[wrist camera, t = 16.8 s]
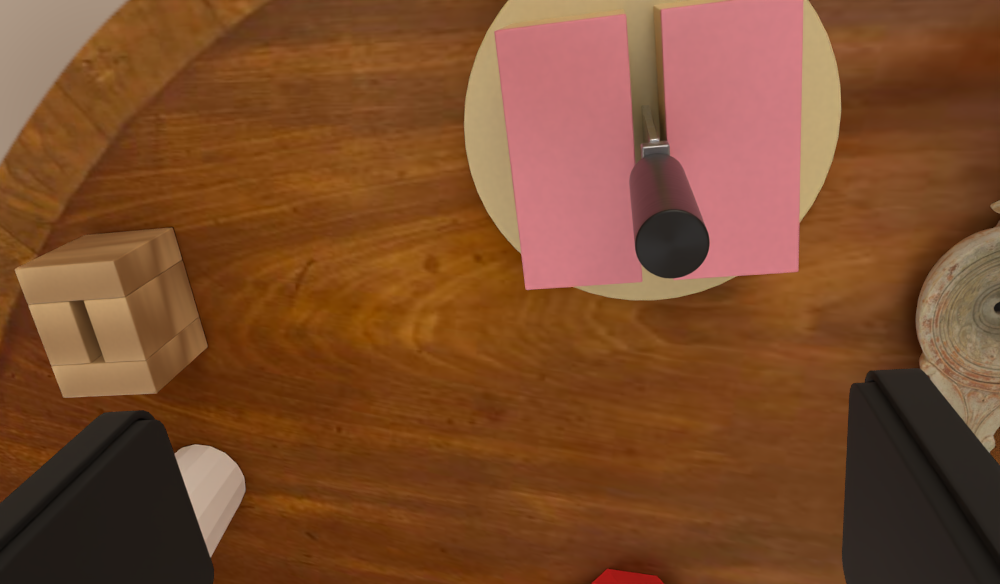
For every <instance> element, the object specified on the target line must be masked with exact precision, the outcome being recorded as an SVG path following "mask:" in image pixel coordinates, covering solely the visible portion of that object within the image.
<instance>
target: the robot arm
mask: <svg viewBox="0 0 1000 584" xmlns="http://www.w3.org/2000/svg"><path fill="white" fill-rule="evenodd" d="M842 562H843V570H844V575H845V579H846V583H847V584H1000V465H999V464H998V463H997V462H996V460H995V459H994V458H993V457H992V455H991V454H990V453H989V452H988V450H987V449H986V448H985V447H984V446H983V444H982V443H981V442H980V441H979V439H978V438H977V437H976V436H975V434H974V433H973V432H972V431H971V429H970V428H969V427H968V426H967V424H966V423H965V422H964V421H963V419H962V418H961V417H960V416H959V414H958V413H957V412H956V411H955V409H954V408H953V407H952V406H951V404H950V403H949V402H948V401H947V400H946V398H945V397H944V396H943V395H942V393H941V392H940V391H939V390H938V388H937V387H936V386H935V385H934V383H933V382H932V381H931V380H930V378H929V377H928V376H927V375H926V373H925V372H924V371H922V370H921V369H919V368H912V369H894V370H876V371H869V372H868V373H867V375H866V378H865V383H853V384H852V385H851V388H850V395H849V415H848V437H847V458H846V480H845V502H844V523H843V545H842ZM213 579H214V568H213V564H212V561H211V558H210V555H209V552H208V549H207V546H206V543H205V541H204V538H203V535H202V532H201V529H200V526H199V523H198V521H197V518H196V515H195V512H194V509H193V506H192V503H191V500H190V498H189V495H188V492H187V489H186V486H185V483H184V480H183V477H182V475H181V472H180V469H179V466H178V463H177V460H176V457H175V454H174V452H173V449H172V446H171V443H170V440H169V437H168V434H167V432H166V429H165V427H164V425H163V424H162V423H161V422H160V421H158V420H155V419H154V417H153V416H152V415H151V414H150V413H149V412H146V411H144V410H141V411H123V412H108V413H103V414H102V415H100V416H98V417H97V418H96V419H95V420H94V421H93V422H91V423H90V424H89V425H88V426H87V427H86V428H85V429H84V430H82V431H81V432H80V433H79V434H78V435H77V436H76V437H75V438H73V439H72V440H71V441H70V442H69V443H68V444H67V445H66V446H64V447H63V448H62V449H61V450H60V451H59V452H58V453H56V454H55V455H54V456H53V457H52V458H51V459H50V460H49V461H47V462H46V463H45V464H44V465H43V466H42V467H41V468H40V469H38V470H37V471H36V472H35V473H34V474H33V475H32V476H31V477H29V478H28V479H27V480H26V481H25V482H24V483H23V484H22V485H20V486H19V487H18V488H17V489H16V490H15V491H14V492H13V493H11V494H10V495H9V496H8V497H7V498H6V499H5V500H3V501H2V502H1V503H0V584H213Z"/></svg>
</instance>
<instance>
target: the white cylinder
mask: <svg viewBox="0 0 1000 584" xmlns="http://www.w3.org/2000/svg"><path fill="white" fill-rule="evenodd" d="M175 457H176V460H177V463H178V466H179V469H180V472H181V475H182V477H183V480H184V483H185V486H186V489H187V492H188V495H189V498H190V500H191V503H192V506H193V509H194V512H195V515H196V518H197V521H198V523H199V526H200V529H201V532H202V535H203V538H204V541H205V543H206V546H207V549H208V552H209V555H210V558H211V556H212V554H213V552H214V550H215V548H216V547H217V545H218V543H219V541H220V539H221V537H222V536H223V534H224V532H225V530H226V528H227V526H228V525H229V523H230V521H231V519H232V517H233V516H234V514H235V512H236V510H237V508H238V506H239V505H240V503H241V501H242V498H243V496H244V493H245V491H246V488H245V479H244V475H243V474H242V472H241V470H240V468H239V466H238V465H237V463H236V462H234V461H233V460H232V459H231V458H230V457H229V456H228V455H227V454H226V453H224V452H222V451H220V450H218V449H215V448H213V447H211V446H205V445H197V444H194V445H190V446H187V447H183V448H181V449H180V450H178V451H177V452H176V453H175Z"/></svg>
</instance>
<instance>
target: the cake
mask: <svg viewBox="0 0 1000 584" xmlns="http://www.w3.org/2000/svg"><path fill="white" fill-rule="evenodd" d="M642 105H649V107H650V110H651V113H652V117H653V120H654V123H655V127H656V130H657V133H658V136H659V141H668V142H669V145H670V156H672V157H674V158H675V159H676V160H677V161H679V162H680V164H681V165H682V167H683V169H684V171H685V174H686V176H687V179H688V181H689V184H690V187H691V189H692V192H693V194H694V197H695V200H696V202H697V205H698V207H699V210H700V213H701V215H702V218H703V220H704V223H705V226H706V228H707V231H708V234H709V239H710V246H709V251H708V254H707V257H706V259H705V260H704V262H703V263H702V264H701V266H700V267H699V268H697V269H696V270H695V271H694V272H692V273H690V274H688V275H686V276H684V277H680V278H671V279H669V278H662V277H658V276H656V275H654V274H652V273H650V272H649V271H647V270H646V269H645V268H644V267H643V266H642V265H641V263H640V262H639V260H638V258H637V255H636V252H635V243H634V231H633V220H632V209H631V198H630V186H629V178H630V174H631V171H632V169H633V167H634V166H635V165H636V163H637V162H638V161H640V160H641V144H642V143H643V130H642V112H641V106H642ZM840 117H841V91H840V81H839V75H838V69H837V63H836V59H835V56H834V53H833V49H832V46H831V43H830V40H829V37H828V35H827V33H826V31H825V29H824V27H823V25H822V23H821V21H820V19H819V17H818V14H817V12H816V11H815V10H814V8H813V7H812V5H811V4H810V2H809V1H808V0H508V2H507V3H506V4H505V5H504V6H503V8H502V9H501V10H500V12H499V13H498V15H497V17H496V18H495V20H494V21H493V23H492V25H491V26H490V28H489V29H488V31H487V33H486V35H485V37H484V39H483V42H482V44H481V46H480V48H479V50H478V52H477V55H476V58H475V61H474V64H473V68H472V71H471V74H470V77H469V82H468V88H467V93H466V99H465V112H464V134H465V147H466V153H467V157H468V162H469V167H470V172H471V175H472V177H473V180H474V183H475V186H476V189H477V192H478V194H479V196H480V198H481V200H482V202H483V204H484V206H485V208H486V210H487V212H488V214H489V215H490V217H491V218H492V220H493V221H494V223H495V224H496V226H497V227H498V229H499V230H500V232H501V233H502V234H503V235H504V236H505V237H506V239H507V240H508V241H509V242H510V243H511V244H512V245H513V247H514V248H515V249H516V250H518V251H519V252H520V253H521V256H522V264H523V272H524V281H525V289H526V290H532V289H547V288H562V287H575V288H578V289H581V290H583V291H586V292H589V293H593V294H597V295H601V296H605V297H609V298H617V299H626V300H661V299H669V298H677V297H681V296H685V295H690V294H694V293H698V292H701V291H704V290H707V289H709V288H712V287H715V286H717V285H720V284H722V283H724V282H726V281H728V280H730V279H732V278H734V277H736V276H743V275H758V274H773V273H788V272H798V269H799V223H800V222H801V220H802V219H803V217H804V216H805V215H806V213H807V212H808V210H809V209H810V207H811V206H812V204H813V202H814V201H815V199H816V197H817V195H818V193H819V191H820V189H821V188H822V186H823V184H824V181H825V179H826V176H827V174H828V171H829V168H830V166H831V163H832V161H833V156H834V152H835V148H836V144H837V140H838V136H839V126H840Z"/></svg>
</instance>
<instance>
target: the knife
mask: <svg viewBox="0 0 1000 584" xmlns="http://www.w3.org/2000/svg"><path fill="white" fill-rule="evenodd" d="M641 112H642V130H643V143H642V144H641V160H640V161H638V162H637V163H636V165H635V166H634V167H633V169H632V171H631V174H630V178H629V186H630V198H631V209H632V220H633V231H634V243H635V252H636V255H637V258H638V260H639V262H640V263H641V265H642V266H643V267H644V268H645V269H646V270H647V271H649V272H650V273H652V274H654V275H656V276H658V277H662V278H669V279H671V278H680V277H684V276H686V275H688V274H690V273H692V272H694V271H695V270H696V269H697V268H699V267H700V266H701V264H702V263H703V262H704V260H705V259H706V257H707V254H708V251H709V246H710V239H709V234H708V231H707V228H706V226H705V223H704V220H703V218H702V215H701V213H700V210H699V207H698V205H697V202H696V200H695V197H694V194H693V192H692V189H691V187H690V184H689V181H688V179H687V176H686V174H685V171H684V169H683V167H682V165H681V164H680V162H679V161H677V160H676V159H675V158H674V157H672V156H670V145H669V142H668V141H659V136H658V133H657V130H656V127H655V123H654V120H653V117H652V113H651V110H650V107H649V105H642V106H641Z"/></svg>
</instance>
